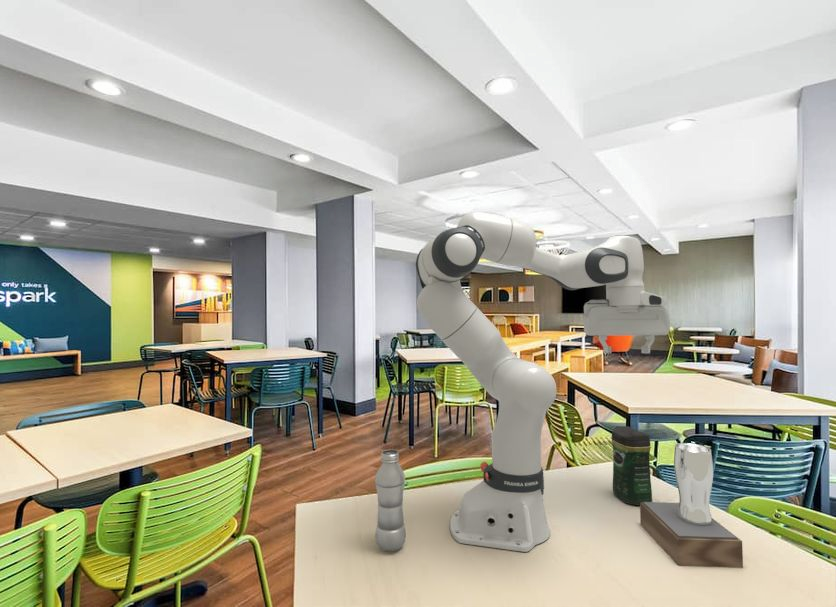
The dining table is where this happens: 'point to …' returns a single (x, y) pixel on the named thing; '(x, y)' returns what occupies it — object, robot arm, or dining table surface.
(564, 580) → the dining table surface
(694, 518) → the beer glass
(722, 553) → the walnut plinth
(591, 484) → the dining table surface
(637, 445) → the coffee jar
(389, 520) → the plastic bottle
